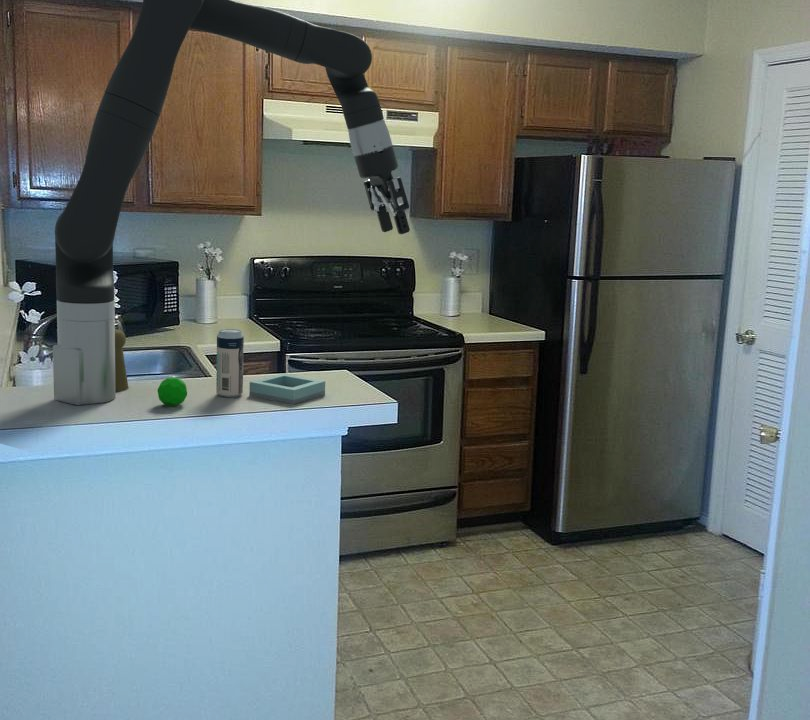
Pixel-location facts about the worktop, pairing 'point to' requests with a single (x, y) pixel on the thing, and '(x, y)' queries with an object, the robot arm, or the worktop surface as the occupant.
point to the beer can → (230, 363)
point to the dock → (287, 388)
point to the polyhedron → (172, 391)
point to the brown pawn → (120, 362)
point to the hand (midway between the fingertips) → (396, 232)
